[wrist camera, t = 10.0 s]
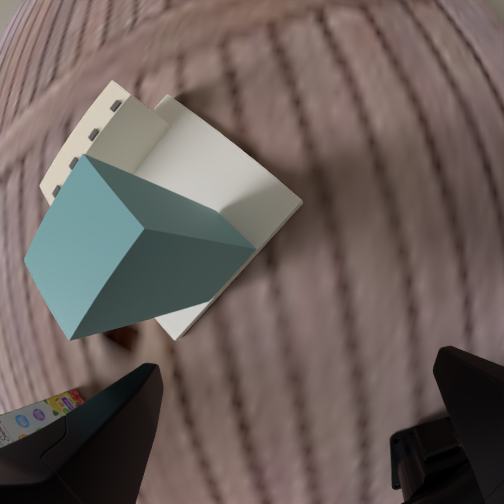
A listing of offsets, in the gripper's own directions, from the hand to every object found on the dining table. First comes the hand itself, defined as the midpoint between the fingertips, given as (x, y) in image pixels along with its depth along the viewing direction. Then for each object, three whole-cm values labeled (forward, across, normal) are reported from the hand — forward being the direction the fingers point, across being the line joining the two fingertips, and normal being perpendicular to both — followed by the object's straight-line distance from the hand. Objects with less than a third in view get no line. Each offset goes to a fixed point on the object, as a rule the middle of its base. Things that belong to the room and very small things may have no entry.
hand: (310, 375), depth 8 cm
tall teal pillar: (+14, +4, 0) cm, 14 cm away
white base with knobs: (+17, +8, -3) cm, 19 cm away
